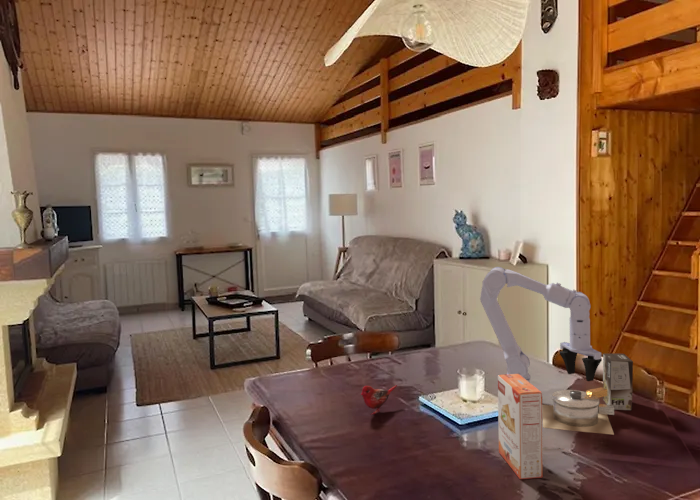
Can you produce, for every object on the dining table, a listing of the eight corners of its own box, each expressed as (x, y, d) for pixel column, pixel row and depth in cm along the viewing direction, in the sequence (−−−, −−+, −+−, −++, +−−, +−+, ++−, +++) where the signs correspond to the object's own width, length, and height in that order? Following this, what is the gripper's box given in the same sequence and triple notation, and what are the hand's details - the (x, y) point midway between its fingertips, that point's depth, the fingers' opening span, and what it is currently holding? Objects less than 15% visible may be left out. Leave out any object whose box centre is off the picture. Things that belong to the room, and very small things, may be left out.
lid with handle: (575, 411, 149) (575, 402, 149) (542, 397, 161) (542, 388, 160) (622, 401, 155) (622, 393, 155) (587, 388, 167) (587, 380, 167)
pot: (554, 424, 154) (554, 407, 153) (552, 409, 165) (552, 393, 165) (616, 430, 149) (616, 412, 148) (610, 414, 160) (610, 397, 160)
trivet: (543, 431, 152) (543, 427, 152) (541, 408, 169) (541, 404, 169) (614, 438, 146) (614, 434, 146) (605, 413, 163) (605, 410, 163)
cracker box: (496, 453, 140) (496, 373, 138) (519, 451, 140) (519, 372, 138) (518, 480, 126) (518, 392, 124) (543, 478, 126) (543, 391, 125)
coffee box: (632, 414, 162) (633, 361, 161) (609, 413, 164) (610, 360, 162) (624, 403, 171) (624, 353, 170) (602, 402, 173) (602, 352, 171)
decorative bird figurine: (357, 419, 164) (356, 386, 164) (394, 402, 177) (393, 372, 176) (365, 421, 162) (364, 388, 162) (401, 404, 175) (400, 374, 174)
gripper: (609, 336, 159) (609, 381, 160) (572, 327, 173) (572, 368, 174) (590, 339, 157) (591, 385, 158) (554, 329, 170) (555, 372, 171)
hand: (580, 377), depth 165 cm, fingers open, 7 cm apart
